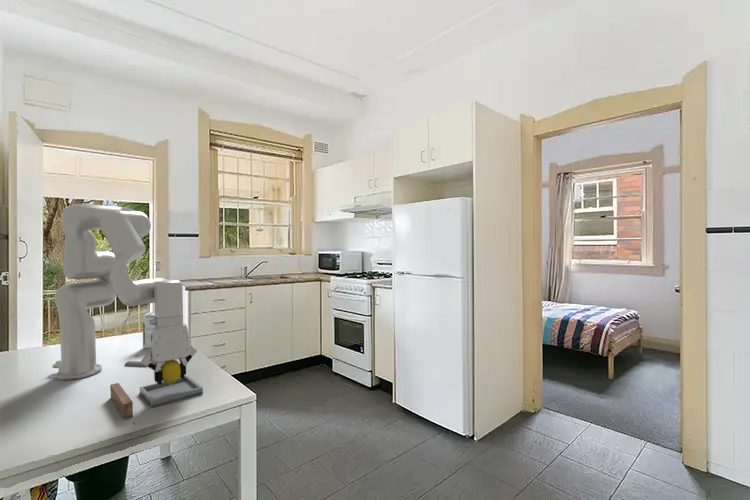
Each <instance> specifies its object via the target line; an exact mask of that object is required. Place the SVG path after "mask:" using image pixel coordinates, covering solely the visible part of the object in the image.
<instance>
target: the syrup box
mask: <svg viewBox="0 0 750 500" xmlns="http://www.w3.org/2000/svg"><path fill="white" fill-rule="evenodd" d="M154 317H155V312H154V311H150V312H148V313H145V314H142V348H143V349H150V341H151V333H152V328H153V327H155V325H150V324H149V320H152V319H154Z"/></svg>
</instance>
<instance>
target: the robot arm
mask: <svg viewBox="0 0 750 500" xmlns="http://www.w3.org/2000/svg"><path fill="white" fill-rule="evenodd" d="M151 223H152V222H151V220H150V219H149V217H148V216H147V214H145V213H144V212H142V211H139V210H134V209H131V208H127V207H125V206H118V205H116V206H115V205H105V204H104V205H103V204H93V203H76V204H71V205H69V206H67V207H65V209H64V211H63V212H62V215H61V225H62V227H61V228H62V230H63V234H64V247H63V248H64V249H63V250H64V251H63V263H62V264H63V265H62V272H63V275H64V276H65V278H66V279H69V280H75V281H76V280H88V279H96V280H92V281H79V282H72V283H67V284H64V285H62V286H60V287H58V288H57V289H56V290H55V293H54V303H55V305H56V306H55V307H56V309H57V314H58V321H59V335H60V336H59V338H60V339H59V340H60V360H56V361H55V363H54V364H52V367H51V368H52V369H58V371H57V372H56V374H55V378H56V379H57V380H60V381H64V380H65V381H67V380H68V381H69V380H75V379H76V380H78V379H83V378H87V377H90V376H93V375H96V374H98V373H99V372H101V371H102V370H103V365H100V363H99V364H97V347H96V345H97V344H96V343H97V341H96V322H95V319H94V317H93V316H92V315H91V314H90V313H89V312H88V310H89V309H95V308H101V307H105V306H110V305H111V304H112V303H114V301H115V299H116V296H117V298H118V300H119V301H120V302H121V303H122V304H123V305H124V306H128V307H137V306H143V305H147V304H154V309H153V312H155V317H154V319H152V320H149V324H150V325H155V327H153V328H152V333H151V341H150V348H149V351H148V352H147V353H145V355H144V357H143V358H142V359H141V361H140V362H141V363H142V364H144V365H146V366H148V367H149V369H150V370H152V371H154V375H153V377H154V381H155V382H156V383H158V384H159V385H161V384H162V382H163V381H162V371H161V365H162V362H164V363H165V362H166V361H170V360H179V364H180V367H181V375H180V378H182V379H185V376H187V365H188V363H189V362H190V361H191V359H192V358H193V357H194V356H195V355H196V353H197V352H198V351H197V350H198V349H196V348H195V347H193V345H192V344H190V335H189V329H188V325H187V323H184V304H183V303H184V297H183V283H182V281H180V280H178V279H167V278H163V277H154V278H153V277H152V278H143V279H136V280H133V279H132V277H131V276H130V274H129V272H128V269H127V265H128V264H131V263H132V262H133V263H134V261H136V260H139V258H141V257H142V256H144V255H145V253H146V245H145V244H144V242H143V241H142V238H141V237H145V236H147V235H148V234H149V233H150V231H151ZM93 231H101V232H102V233H103V236H104V237H105V240H106V241H107V243H108V245H109V247H110V249H111V251H112V252H111V251H107V250H100V251H99V250H98V251H97V238H96V236H95V234H94V233H93ZM149 360H152V361H149ZM151 362H154V364H153V363H151Z"/></svg>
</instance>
